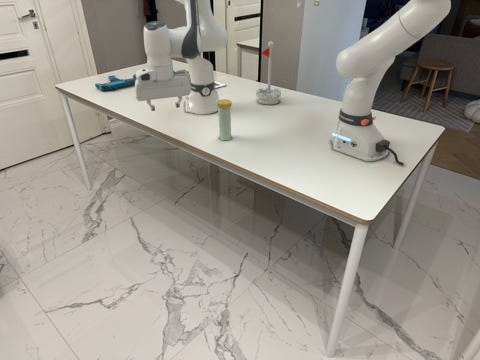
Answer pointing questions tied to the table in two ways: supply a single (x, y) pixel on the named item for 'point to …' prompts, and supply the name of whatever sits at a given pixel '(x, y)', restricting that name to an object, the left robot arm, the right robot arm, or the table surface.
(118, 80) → the submachine gun
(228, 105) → the lid
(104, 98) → the table surface
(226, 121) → the pale green cylinder
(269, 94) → the flag stand
